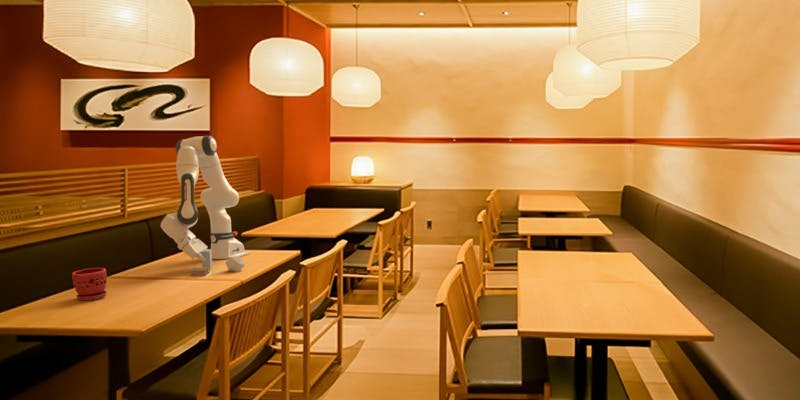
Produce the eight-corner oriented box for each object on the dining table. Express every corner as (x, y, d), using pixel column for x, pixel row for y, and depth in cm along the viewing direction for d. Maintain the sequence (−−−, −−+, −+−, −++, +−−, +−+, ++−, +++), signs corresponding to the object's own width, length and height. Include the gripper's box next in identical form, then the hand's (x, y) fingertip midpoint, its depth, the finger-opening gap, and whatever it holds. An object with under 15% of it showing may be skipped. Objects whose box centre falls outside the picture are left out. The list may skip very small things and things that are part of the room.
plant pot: (98, 293, 290) (96, 266, 289) (113, 297, 282) (111, 269, 281) (68, 299, 280) (66, 271, 279) (82, 303, 272) (80, 274, 271)
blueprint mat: (205, 271, 333) (204, 270, 333) (222, 273, 326) (222, 273, 326) (181, 276, 321) (181, 275, 321) (198, 279, 314) (198, 278, 314)
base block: (195, 273, 326) (194, 267, 326) (209, 273, 327) (209, 267, 326) (191, 276, 320) (190, 270, 319) (205, 276, 320) (205, 269, 319)
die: (248, 271, 333) (242, 255, 337) (242, 266, 326) (237, 249, 329) (232, 278, 333) (227, 261, 337) (227, 273, 325) (221, 255, 329)
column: (204, 269, 339) (203, 250, 338) (212, 269, 339) (211, 249, 338) (202, 271, 335) (201, 251, 334) (210, 270, 335) (209, 251, 334)
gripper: (189, 241, 346) (209, 260, 347) (176, 248, 325) (197, 267, 326) (197, 233, 345) (217, 251, 346) (185, 239, 325) (206, 258, 326)
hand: (207, 259), depth 336 cm, fingers open, 8 cm apart
